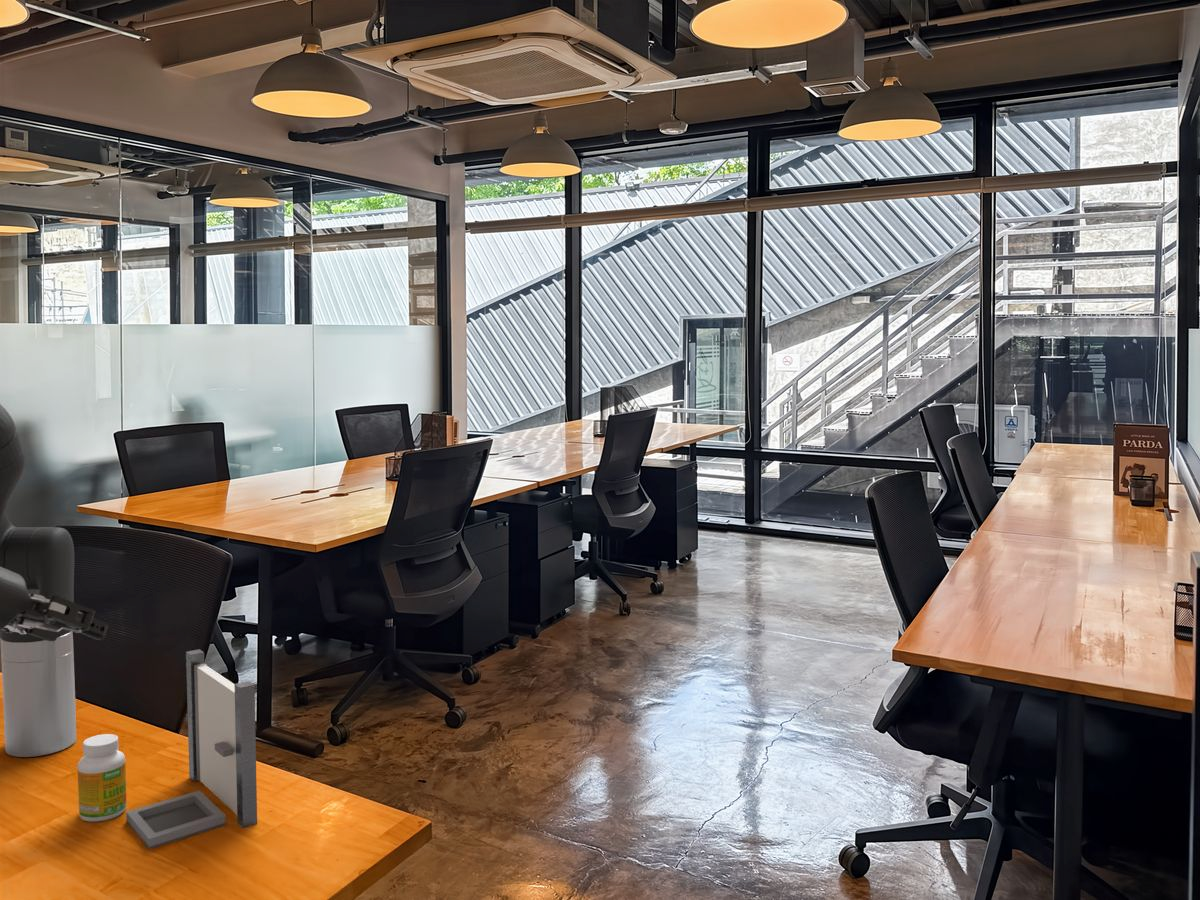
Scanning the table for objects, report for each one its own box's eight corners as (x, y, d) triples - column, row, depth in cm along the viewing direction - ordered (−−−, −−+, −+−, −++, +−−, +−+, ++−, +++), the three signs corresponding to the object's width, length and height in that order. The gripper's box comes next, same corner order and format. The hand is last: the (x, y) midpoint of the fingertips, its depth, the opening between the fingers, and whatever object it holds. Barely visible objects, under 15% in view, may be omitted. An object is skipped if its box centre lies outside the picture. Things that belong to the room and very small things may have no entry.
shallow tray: (126, 821, 117) (126, 811, 117) (199, 799, 123) (199, 790, 123) (149, 849, 110) (148, 838, 110) (225, 824, 116) (225, 815, 116)
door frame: (189, 777, 130) (185, 651, 128) (202, 773, 131) (199, 649, 129) (243, 828, 116) (240, 687, 114) (257, 823, 117) (254, 684, 115)
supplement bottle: (106, 825, 116) (103, 750, 115) (69, 820, 117) (66, 746, 116) (136, 805, 121) (133, 733, 120) (100, 801, 122) (97, 729, 121)
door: (185, 780, 127) (182, 667, 126) (207, 774, 129) (204, 662, 128) (226, 820, 116) (224, 696, 115) (249, 813, 118) (247, 691, 117)
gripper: (25, 557, 106) (131, 604, 119) (-61, 562, 111) (51, 607, 124) (-1, 620, 103) (112, 661, 116) (-88, 623, 108) (30, 662, 121)
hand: (80, 633), depth 120 cm, fingers open, 8 cm apart
